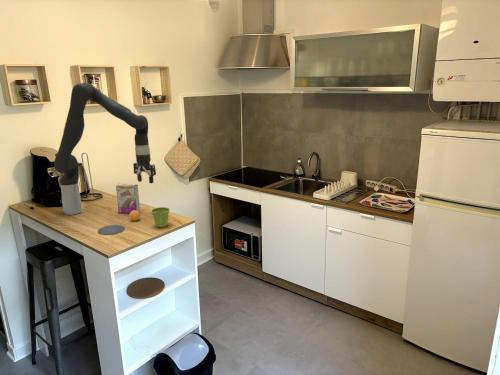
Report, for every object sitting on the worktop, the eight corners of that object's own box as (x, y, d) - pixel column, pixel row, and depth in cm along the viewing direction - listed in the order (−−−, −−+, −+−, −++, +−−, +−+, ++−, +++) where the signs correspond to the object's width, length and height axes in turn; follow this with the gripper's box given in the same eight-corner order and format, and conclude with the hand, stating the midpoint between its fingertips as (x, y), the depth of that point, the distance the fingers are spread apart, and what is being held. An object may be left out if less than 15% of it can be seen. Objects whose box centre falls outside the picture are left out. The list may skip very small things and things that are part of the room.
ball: (127, 221, 203) (126, 211, 202) (135, 217, 208) (134, 208, 206) (135, 222, 201) (134, 212, 199) (142, 219, 205) (141, 209, 204)
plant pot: (151, 223, 199) (150, 208, 197) (169, 221, 202) (168, 206, 200) (153, 230, 191) (152, 213, 188) (172, 227, 194) (171, 211, 192)
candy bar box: (118, 213, 215) (115, 185, 211) (121, 210, 220) (119, 183, 216) (137, 213, 214) (134, 186, 210) (140, 211, 219) (138, 183, 215)
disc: (92, 231, 189) (91, 231, 189) (112, 223, 200) (112, 223, 199) (109, 236, 182) (109, 236, 182) (130, 228, 193) (130, 227, 193)
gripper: (128, 153, 204) (131, 182, 208) (147, 155, 197) (150, 185, 201) (138, 151, 210) (141, 179, 214) (157, 152, 203) (160, 182, 207)
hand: (145, 182), depth 208 cm, fingers open, 8 cm apart
